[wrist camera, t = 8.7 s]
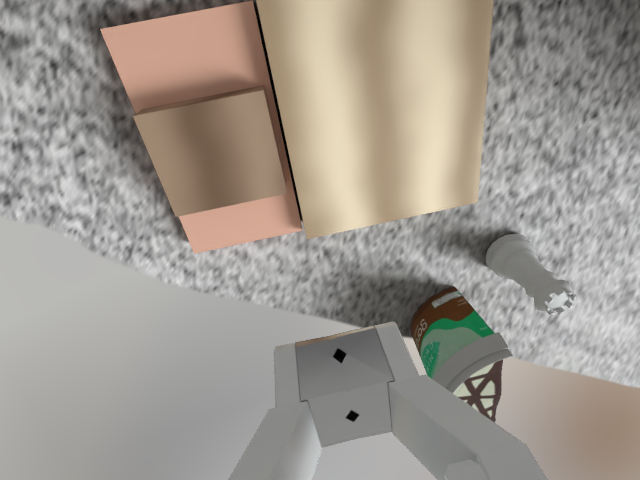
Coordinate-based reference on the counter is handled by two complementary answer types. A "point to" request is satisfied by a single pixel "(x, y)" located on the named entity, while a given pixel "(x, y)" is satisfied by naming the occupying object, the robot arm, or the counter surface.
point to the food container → (460, 350)
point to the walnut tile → (213, 150)
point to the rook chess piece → (529, 273)
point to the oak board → (379, 104)
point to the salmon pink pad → (201, 81)
